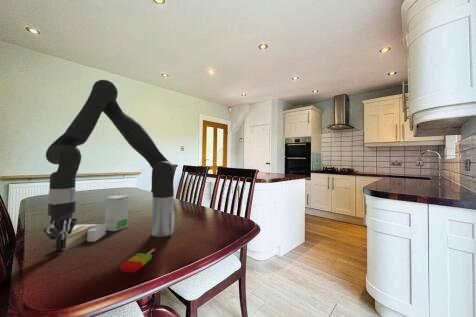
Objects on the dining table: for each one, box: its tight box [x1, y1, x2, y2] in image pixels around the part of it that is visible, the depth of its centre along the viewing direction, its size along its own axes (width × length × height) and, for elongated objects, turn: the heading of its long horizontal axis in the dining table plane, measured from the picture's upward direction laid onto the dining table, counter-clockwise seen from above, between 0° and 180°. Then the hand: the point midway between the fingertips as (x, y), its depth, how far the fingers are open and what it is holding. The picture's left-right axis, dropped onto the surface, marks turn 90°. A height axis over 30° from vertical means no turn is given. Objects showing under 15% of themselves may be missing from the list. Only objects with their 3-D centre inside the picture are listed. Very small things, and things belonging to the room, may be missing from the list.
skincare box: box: [104, 195, 129, 232], centre depth 99 cm, size 8×7×16 cm
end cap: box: [73, 223, 107, 242], centre depth 86 cm, size 12×8×4 cm, turn 97°
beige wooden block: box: [62, 226, 91, 251], centre depth 81 cm, size 4×12×5 cm, turn 176°
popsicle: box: [120, 248, 156, 273], centre depth 68 cm, size 6×15×2 cm, turn 171°
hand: (60, 249), depth 72 cm, fingers closed
